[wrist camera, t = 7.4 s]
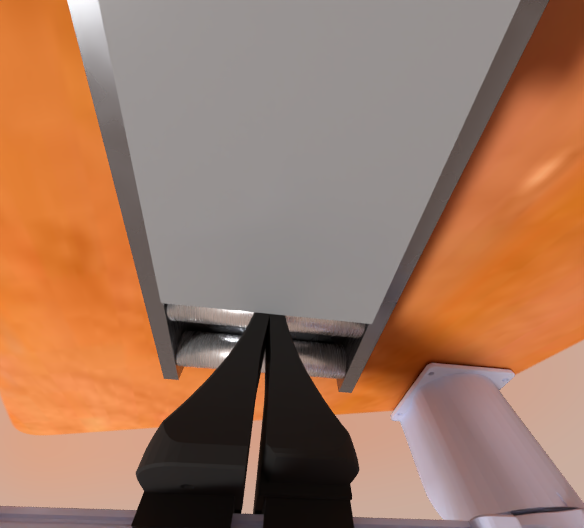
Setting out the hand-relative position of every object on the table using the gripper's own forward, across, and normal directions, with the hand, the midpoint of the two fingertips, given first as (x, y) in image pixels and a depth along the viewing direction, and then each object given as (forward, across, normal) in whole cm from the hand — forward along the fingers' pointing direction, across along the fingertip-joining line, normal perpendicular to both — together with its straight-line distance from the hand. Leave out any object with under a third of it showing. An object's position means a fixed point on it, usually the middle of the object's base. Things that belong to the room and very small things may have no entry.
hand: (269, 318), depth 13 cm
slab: (+1, 0, -7) cm, 7 cm away
